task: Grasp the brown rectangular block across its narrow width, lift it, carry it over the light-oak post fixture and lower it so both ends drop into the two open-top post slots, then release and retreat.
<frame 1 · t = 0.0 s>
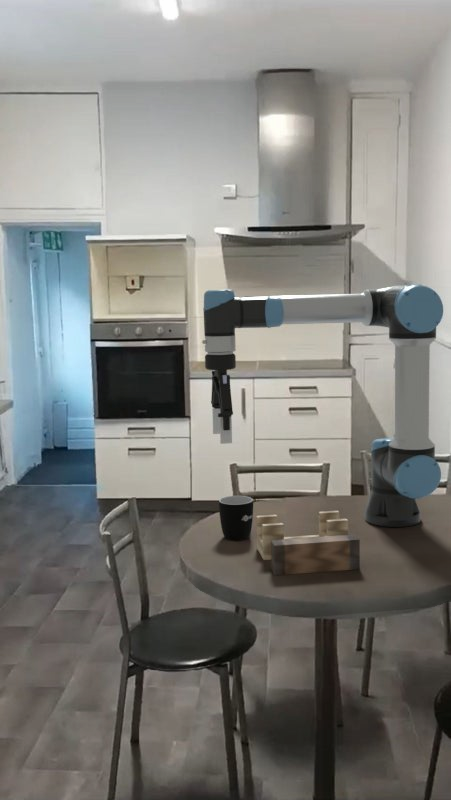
hand: (222, 438, 201), 28 cm above the table, fingers open, 13 cm apart
brown rectangular block: (315, 569, 187), on the table
mug: (239, 536, 214), on the table
posts: (302, 551, 200), on the table
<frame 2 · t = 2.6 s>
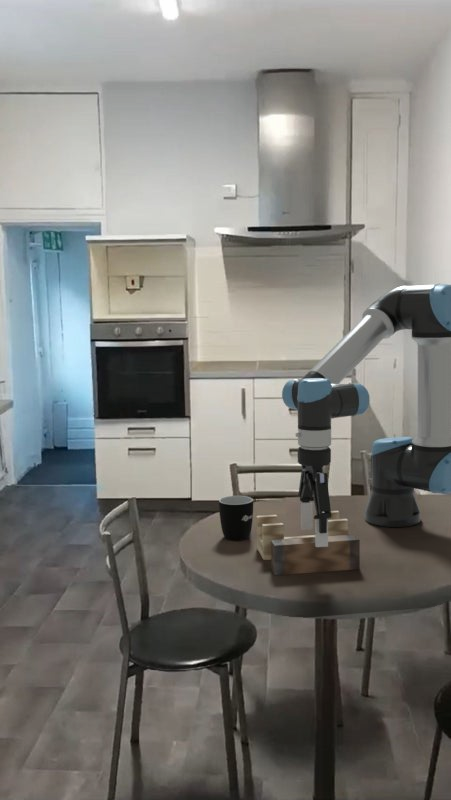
hand: (313, 537, 186), 8 cm above the table, fingers open, 13 cm apart
nothing on the table moved.
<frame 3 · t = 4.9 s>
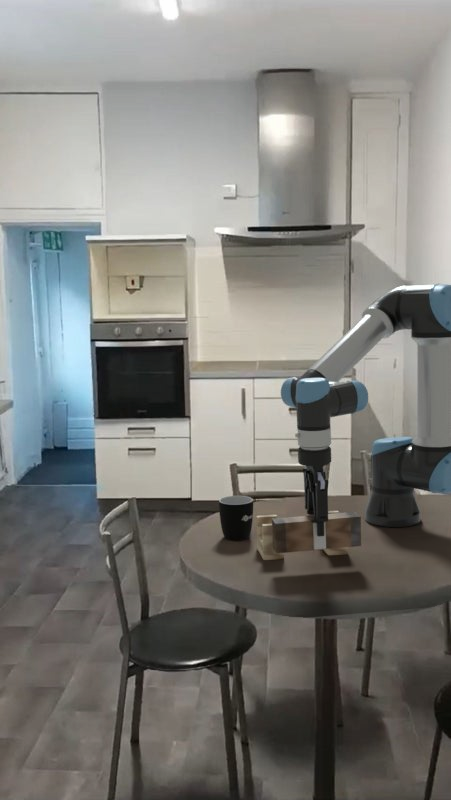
hand: (317, 545, 187), 6 cm above the table, fingers closed on brown rectangular block, 4 cm apart
brown rectangular block: (316, 546, 187), point 5 cm above the table, touching gripper
everything else where it was.
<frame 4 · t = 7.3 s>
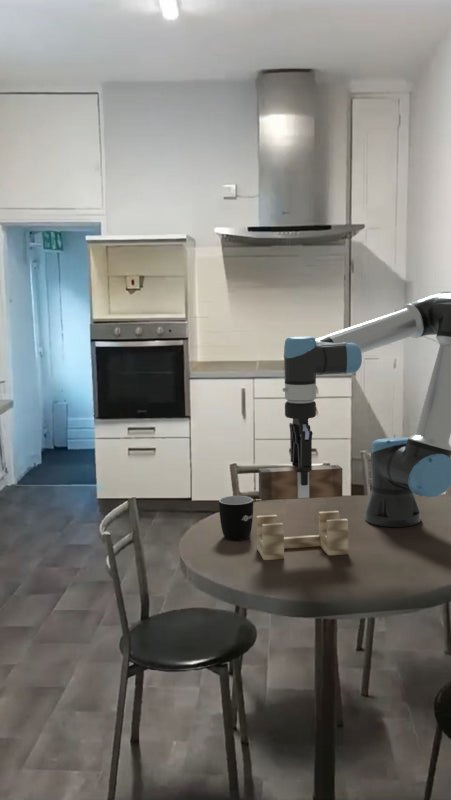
hand: (301, 495, 198), 14 cm above the table, fingers closed on brown rectangular block, 4 cm apart
brown rectangular block: (300, 496, 198), point 14 cm above the table, touching gripper
everything else where it was.
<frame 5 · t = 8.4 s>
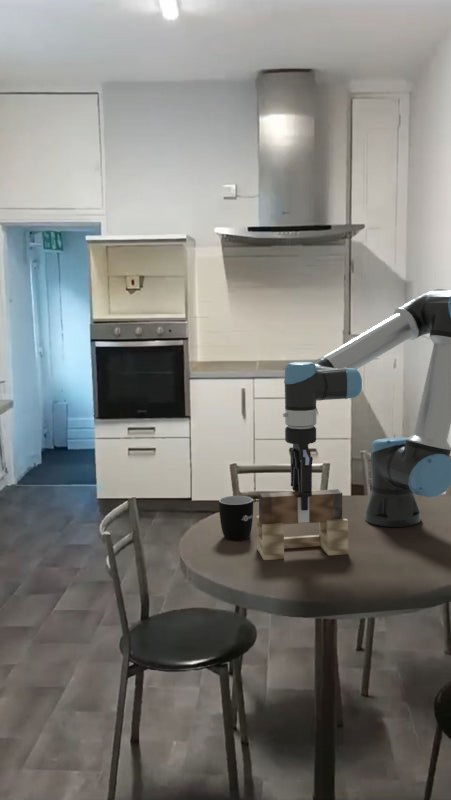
hand: (301, 519, 199), 8 cm above the table, fingers closed on brown rectangular block, 4 cm apart
brown rectangular block: (300, 520, 199), point 8 cm above the table, touching gripper
everything else where it was.
when the fingers open (4 cm above the table, at t = 9.7 s): brown rectangular block stays where it is, resting on posts.
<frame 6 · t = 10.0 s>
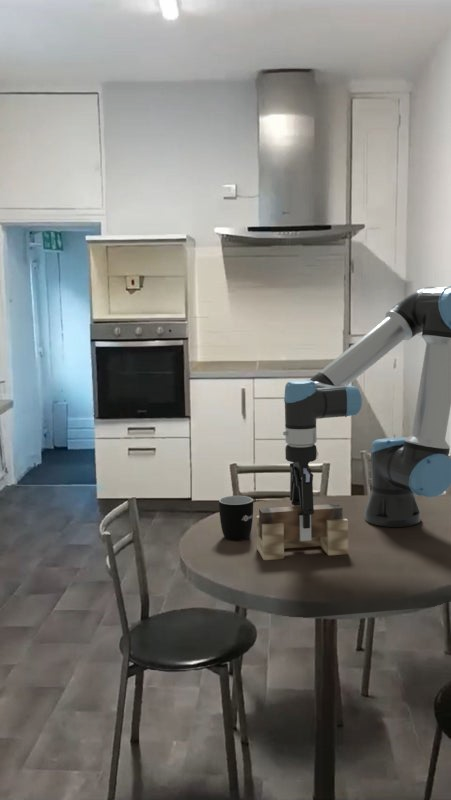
hand: (301, 535, 199), 4 cm above the table, fingers open, 7 cm apart
brown rectangular block: (301, 535, 199), point 4 cm above the table, touching posts
everything else where it was.
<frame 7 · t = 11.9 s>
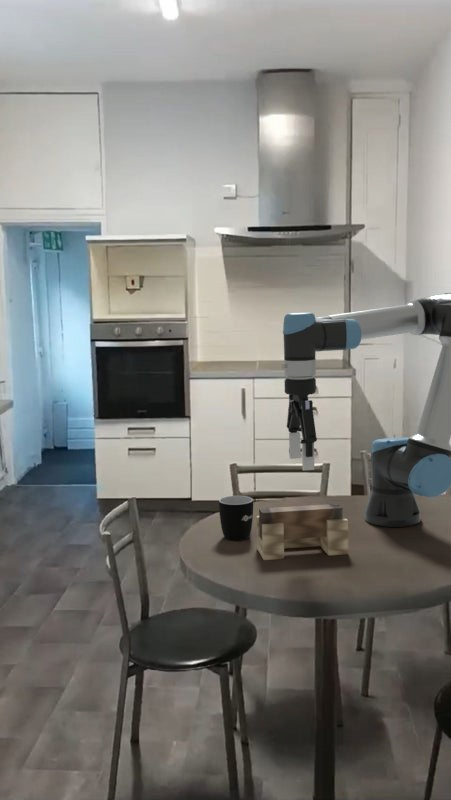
hand: (301, 463, 197), 22 cm above the table, fingers open, 13 cm apart
nothing on the table moved.
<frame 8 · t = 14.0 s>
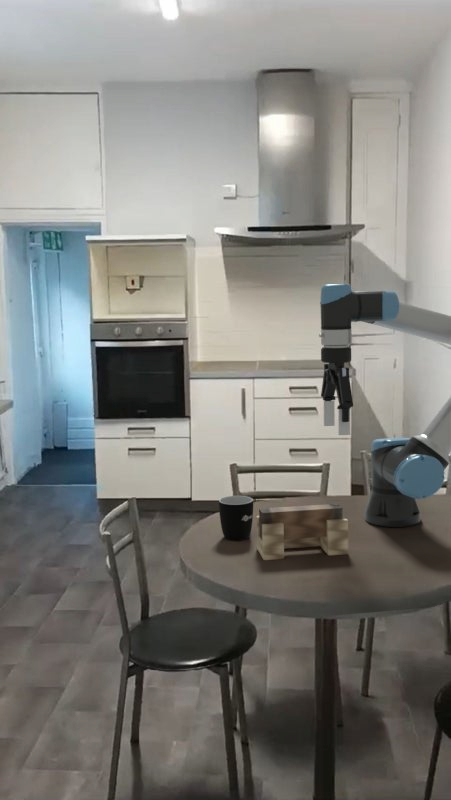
hand: (336, 430, 204), 29 cm above the table, fingers open, 13 cm apart
nothing on the table moved.
at the end: brown rectangular block 0.2 cm off-centre on the posts, point 4.0 cm above the posts's base; brown rectangular block tilted 0°; the gripper is holding nothing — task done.
